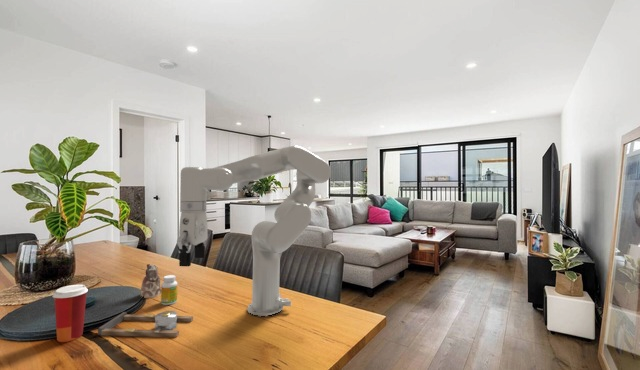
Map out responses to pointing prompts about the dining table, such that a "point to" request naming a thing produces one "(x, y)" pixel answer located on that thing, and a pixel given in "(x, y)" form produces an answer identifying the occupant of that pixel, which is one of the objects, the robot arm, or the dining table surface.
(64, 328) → the paper cup
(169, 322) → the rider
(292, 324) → the dining table surface
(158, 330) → the beam track
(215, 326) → the dining table surface
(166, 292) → the supplement bottle
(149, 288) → the figurine
